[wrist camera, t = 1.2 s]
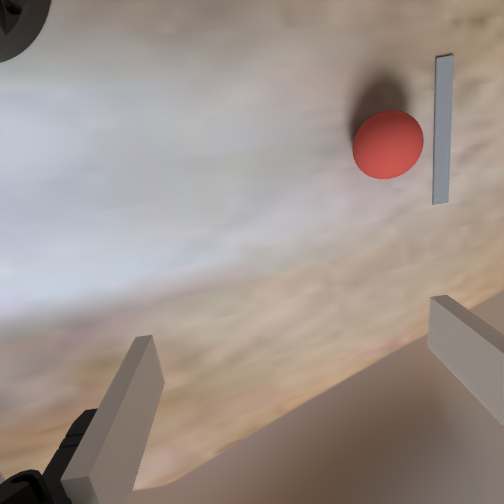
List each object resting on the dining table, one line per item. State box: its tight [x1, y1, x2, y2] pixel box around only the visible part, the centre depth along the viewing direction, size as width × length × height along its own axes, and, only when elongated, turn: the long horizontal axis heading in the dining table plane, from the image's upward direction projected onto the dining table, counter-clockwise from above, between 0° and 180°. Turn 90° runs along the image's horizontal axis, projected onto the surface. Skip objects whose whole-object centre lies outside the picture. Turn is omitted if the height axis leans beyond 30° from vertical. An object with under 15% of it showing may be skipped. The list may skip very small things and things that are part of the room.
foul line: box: [433, 55, 454, 205], centre depth 32 cm, size 14×2×1 cm, turn 9°
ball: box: [353, 110, 424, 179], centre depth 29 cm, size 6×6×6 cm
